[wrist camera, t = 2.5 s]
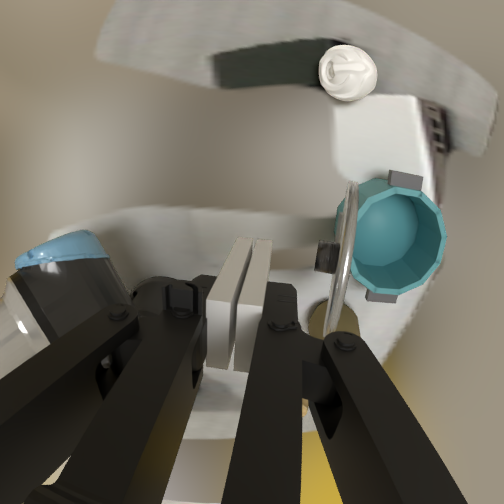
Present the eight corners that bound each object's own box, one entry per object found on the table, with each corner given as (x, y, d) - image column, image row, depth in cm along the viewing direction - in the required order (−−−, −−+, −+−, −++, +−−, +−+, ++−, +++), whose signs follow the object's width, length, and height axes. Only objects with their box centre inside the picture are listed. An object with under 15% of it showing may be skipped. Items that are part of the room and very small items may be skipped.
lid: (326, 371, 25) (293, 365, 25) (335, 293, 39) (313, 289, 40) (364, 193, 20) (322, 186, 20) (354, 175, 34) (330, 172, 34)
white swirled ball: (314, 53, 37) (320, 36, 30) (365, 55, 36) (380, 40, 29) (319, 104, 40) (326, 96, 32) (370, 105, 39) (387, 99, 31)
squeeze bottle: (306, 294, 49) (314, 367, 33) (355, 291, 48) (383, 361, 32) (306, 335, 52) (311, 413, 35) (352, 333, 51) (372, 408, 34)
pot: (406, 282, 47) (426, 308, 38) (321, 273, 48) (327, 301, 40) (428, 176, 41) (457, 185, 32) (337, 159, 42) (349, 163, 34)
